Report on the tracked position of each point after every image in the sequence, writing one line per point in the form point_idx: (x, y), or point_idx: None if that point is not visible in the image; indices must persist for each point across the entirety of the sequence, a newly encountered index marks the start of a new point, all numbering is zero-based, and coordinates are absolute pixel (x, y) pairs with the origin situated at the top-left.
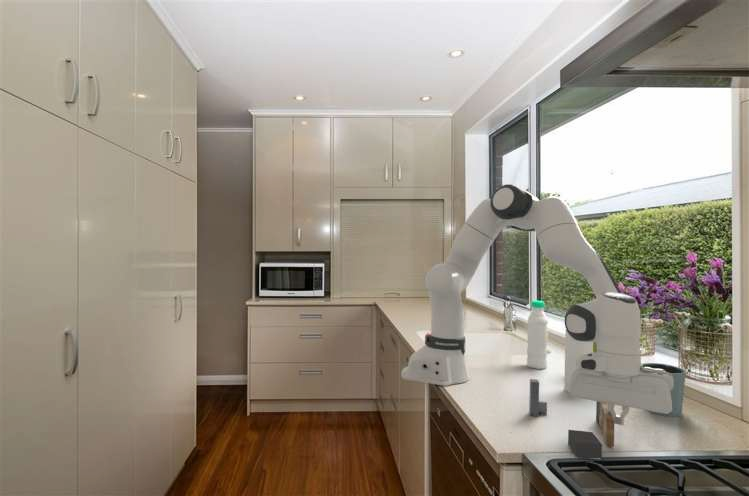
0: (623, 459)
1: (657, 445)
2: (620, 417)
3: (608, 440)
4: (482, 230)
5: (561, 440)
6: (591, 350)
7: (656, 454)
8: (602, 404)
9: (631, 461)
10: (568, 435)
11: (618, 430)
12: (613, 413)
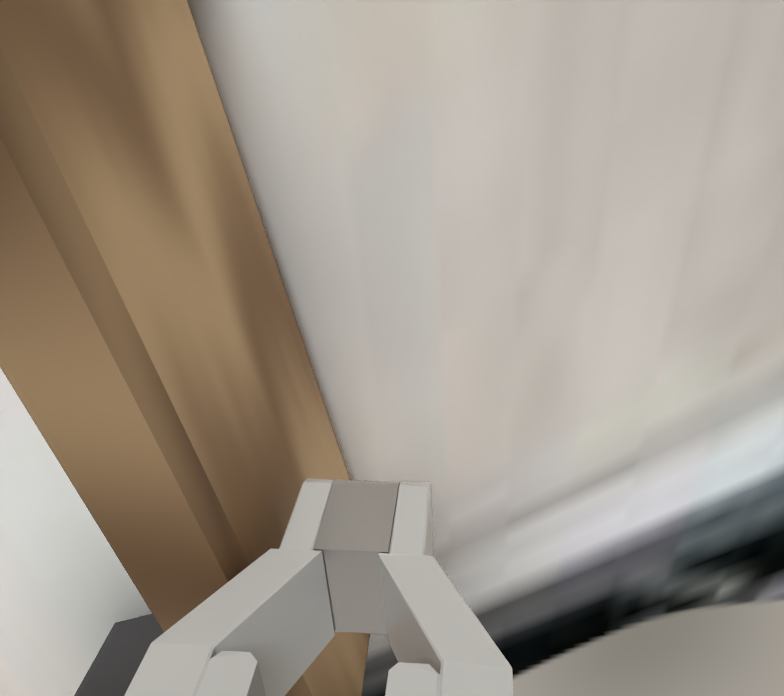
0: None
1: (774, 281)
2: (390, 635)
3: None
4: None
5: (57, 595)
6: None
7: (701, 487)
8: (7, 337)
9: None
10: (83, 691)
11: (370, 79)
12: (293, 670)
